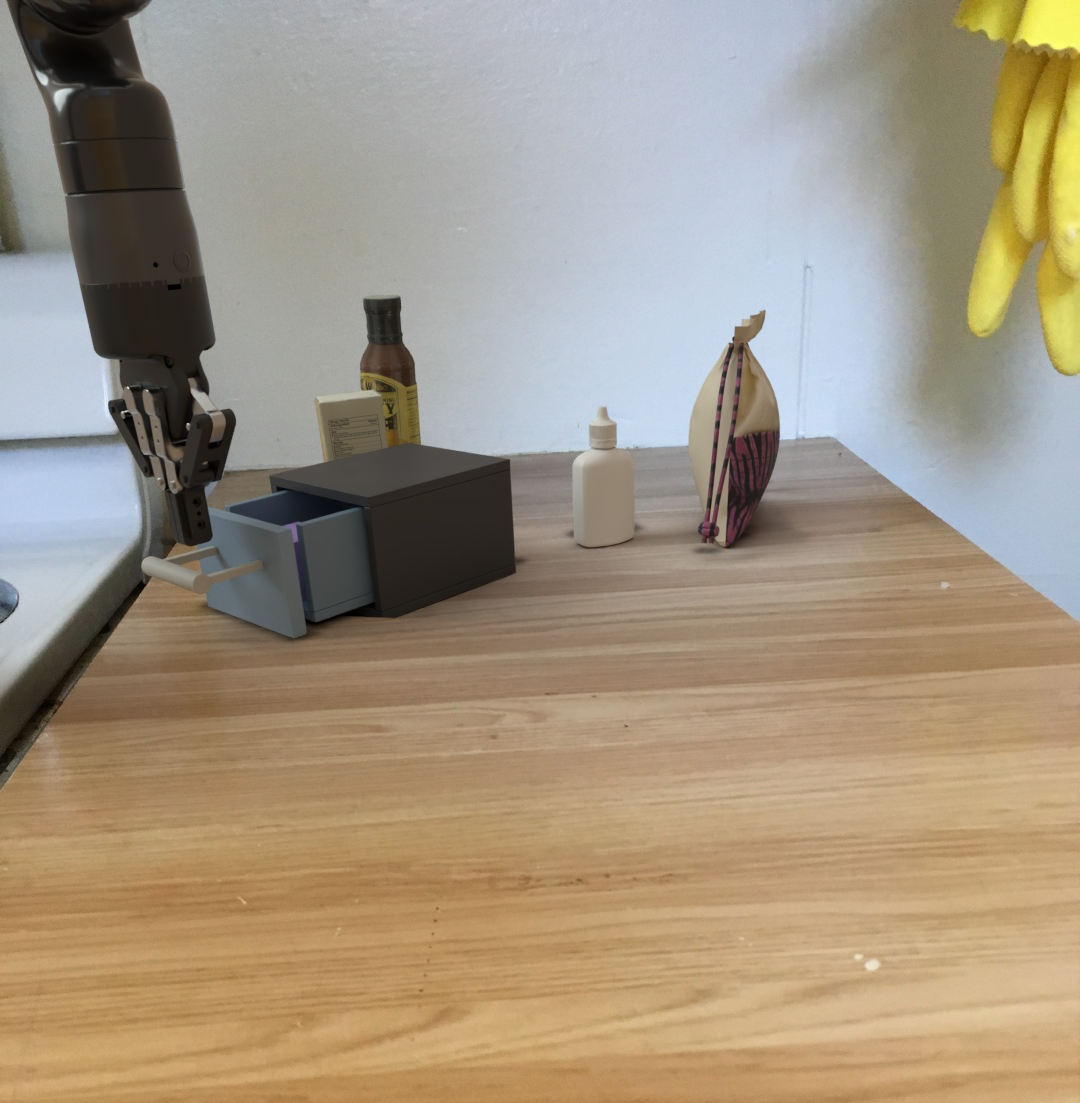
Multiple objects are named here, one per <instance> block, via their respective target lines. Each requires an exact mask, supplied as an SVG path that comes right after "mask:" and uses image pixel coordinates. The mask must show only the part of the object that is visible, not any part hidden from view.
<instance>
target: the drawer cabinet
mask: <svg viewBox="0 0 1080 1103" xmlns="http://www.w3.org/2000/svg"><path fill="white" fill-rule="evenodd" d="M511 475H512V474H511V459H510V458H506V457H505V458H504V457H500V456H499V457H498V456H493V455H486V454H480V453H475V452H468V451H462V450H455V449H450V448H443V447H437V446H431V445H425V444H421V445H419V444H413V443H405V444H400V445H396V446H392V447H388V448H383V449H379V450H375V451H371V452H366V453H362V454H358V455H353V456H349V457H345V458H341V459H336V460H332V461H328V462H324V461H323V462H320V463H316V464H311V465H307V466H302V467H298V468H294V469H290V470H285V471H280V472H277V473H272V474H269V475H268V477H269V484H270V490H271V494H272V493H276V492H280V491H284V490H288V489H291V490H295V491H299V492H304V493H308V494H312V495H317V496H321V497H326V498H330V499H334V500H339V501H343V502H347V503H352V504H356V505H360V506H365V507H364V512H365V521H366V530H367V538H368V547H369V555H370V564H371V573H372V581H373V590H374V598H375V602H373V603H370V604H367V605H364V606H361V607H358V608H356V609H353V610H350V611H349V612H353V613H356V614H359V615H361V616H364V617H367V618H380V619H381V618H382V619H394V618H397V617H400V616H402V615H405V614H408V613H410V612H413V611H416V610H418V609H422V608H424V607H426V606H429V605H432V604H435V603H438V602H439V601H440V602H441V601H443V600H446V599H448V598H451V597H453V596H456V595H460V594H461V593H464V592H467V591H470V590H473V589H475V588H478V587H480V586H483V585H486V584H488V583H492V582H495V581H497V580H500V579H502V578H505V577H507V576H510V575H513V574H515V573H517V566H516V550H515V549H516V548H515V531H514V530H515V528H514V510H513V494H512V492H513V490H512V476H511Z"/></svg>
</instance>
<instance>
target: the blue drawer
mask: <svg viewBox="0 0 1080 1103" xmlns="http://www.w3.org/2000/svg"><path fill="white" fill-rule="evenodd" d="M364 507H365V506H360V505H356V504H352V503H347V502H343V501H339V500H334V499H330V498H326V497H321V496H317V495H312V494H308V493H304V492H299V491H295V490H291V489H288V490H284V491H280V492H276V493H272V492H271V493H267V494H264V495H260V496H257V497H252V498H248V499H244V500H240V501H236V502H232V503H228V504H227V503H226V504H224V510H223V509H218V508H215V507H211V506H208V511H209V517H210V522H211V527H212V533H213V537H212V539H211V540H210V541H209V542H206V543H203V544H199V545H196V549H195V550H191V551H188V552H183V553H181V554H177V555H173V556H169V557H166V558H163V559H162V558H159V557H156V556H153V555H152V556H151V555H149V556H146V557H145V558H144V559H143V560H142V562H141V566H140V567H141V570H142V573H144V575H146V576H148V577H151V578H154V579H156V580H160V581H161V582H164V583H168V584H170V585H172V586H173V585H174V586H176V587H178V588H181V589H184V590H187V591H189V592H192V593H195V594H198V595H205V596H206V601H207V606H208V607H209V608H211V609H213V610H217V611H219V612H222V613H224V614H227V615H230V616H233V617H235V618H238V619H240V620H244V621H246V622H249V623H251V624H254V625H256V626H259V627H262V628H265V629H267V630H270V631H273V632H275V633H277V634H281V635H283V636H286V637H287V638H291V639H293V640H295V639H297V638H299V637H302V636H305V635H307V634H308V632H307V625H306V624H307V623H306V620H308V621H310V622H313V623H318V622H321V621H324V620H327V619H330V618H333V617H336V616H339V615H341V614H344V613H347V612H351V611H350V610H353V609H356V608H358V607H361V606H364V605H367V604H370V603H373V602H375V598H374V590H373V581H372V573H371V564H370V555H369V547H368V538H367V530H366V521H365V512H364ZM295 522H301V523H297V524H296V529H297V536H298V543H299V549H300V556H301V563H302V570H303V577H304V584H305V591H306V597H307V600H305V601H302V596H301V590H300V583H299V576H298V569H297V563H296V556H295V549H294V542H293V536H292V529H290V528H286V527H283V526H284V525H288V524H291V523H295ZM195 561H199V565H200V569H201V571H197V570H194V569H191V568H188V567H186V566H182V565H184V564H188V563H191V562H192V563H193V562H195Z"/></svg>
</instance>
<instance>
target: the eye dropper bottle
mask: <svg viewBox="0 0 1080 1103" xmlns="http://www.w3.org/2000/svg"><path fill="white" fill-rule="evenodd" d="M596 412H597V413H596V417H595V419H594V420H592V421H590V422H589V423H588V446H589V449H587V450H585V451H583V452H582V453H580V454H579V455H578V456H576V458H575V459H574V460H573V462H572V466H571V471H572V472H571V475H572V476H571V481H572V482H571V483H572V485H571V486H572V516H573V517H572V520H573V521H572V522H573V523H572V524H573V526H572V527H573V540H574V542H575V543H576V544H578V545H580V546H583V547H585V548H599V547H600V548H602V547H608V546H613V545H618V544H621V543H624V542H627V541H629V540H631V539H633V538H634V536H635V533H636V532H635V531H636V530H635V522H636V521H635V518H636V517H635V515H636V514H635V512H636V511H635V510H636V509H635V460H634V457H633V455H632V453H630V452H629V451H627V450H625V449H623V448H619V447H616V446H618V445H617V444H618V438H617V436H618V434H617V433H618V432H617V428H618V427H617V425H618V424H617V422H616V421H614V420H612V419H611V418H610V417H609V413H608V407H607V406H606V405H599V406H597V411H596Z"/></svg>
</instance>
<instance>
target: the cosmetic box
mask: <svg viewBox="0 0 1080 1103" xmlns="http://www.w3.org/2000/svg"><path fill="white" fill-rule="evenodd" d="M313 400H314V406H315V413H316V418H317V425H318V426H317V427H318V431H319V439H320V444H321V452H322V458H323V463H324V462H328V461H332V460H336V459H341V458H345V457H349V456H353V455H358V454H362V453H366V452H371V451H375V450H379V449H383V448H388V442H387V434H386V427H385V419H384V411H383V403H382V396H381V395H380V394H379V393H378V392H376V391H375V390H368V391H361V390H359V391H353V392H344V393H343V392H342V393H335V394H327V395H316V396H313Z"/></svg>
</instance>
